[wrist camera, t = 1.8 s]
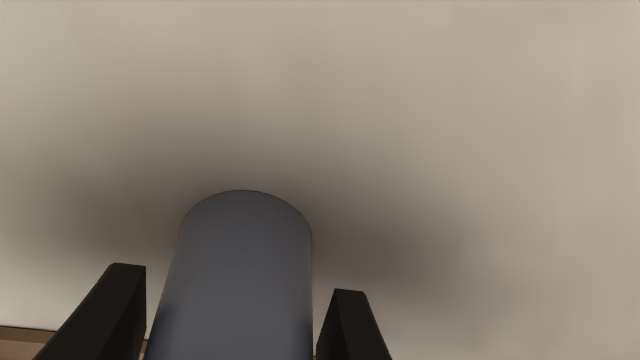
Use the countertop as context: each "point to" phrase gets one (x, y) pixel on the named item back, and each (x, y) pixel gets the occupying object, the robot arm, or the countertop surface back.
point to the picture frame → (30, 343)
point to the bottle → (237, 284)
